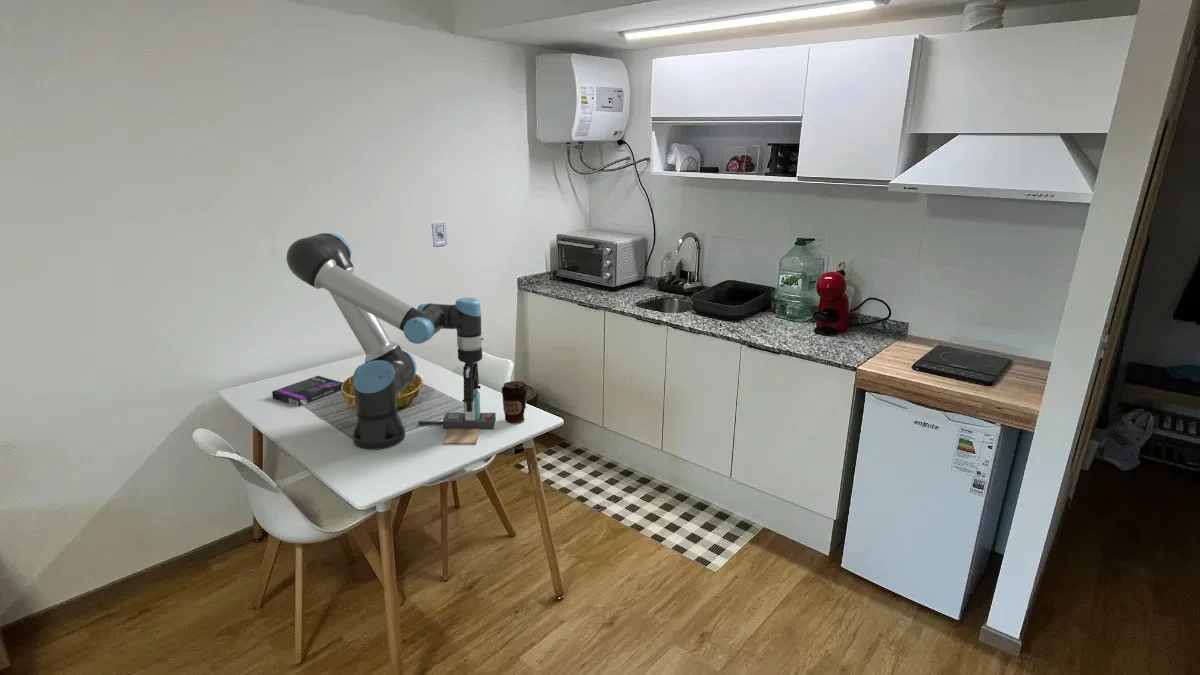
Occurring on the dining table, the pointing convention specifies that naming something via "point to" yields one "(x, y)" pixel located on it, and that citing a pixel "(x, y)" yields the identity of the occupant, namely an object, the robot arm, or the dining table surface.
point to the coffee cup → (514, 401)
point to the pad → (462, 436)
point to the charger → (475, 406)
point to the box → (307, 391)
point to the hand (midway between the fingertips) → (472, 413)
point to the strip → (464, 422)
